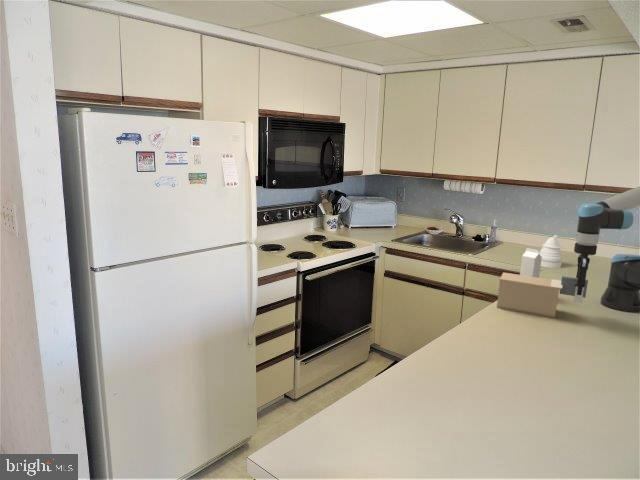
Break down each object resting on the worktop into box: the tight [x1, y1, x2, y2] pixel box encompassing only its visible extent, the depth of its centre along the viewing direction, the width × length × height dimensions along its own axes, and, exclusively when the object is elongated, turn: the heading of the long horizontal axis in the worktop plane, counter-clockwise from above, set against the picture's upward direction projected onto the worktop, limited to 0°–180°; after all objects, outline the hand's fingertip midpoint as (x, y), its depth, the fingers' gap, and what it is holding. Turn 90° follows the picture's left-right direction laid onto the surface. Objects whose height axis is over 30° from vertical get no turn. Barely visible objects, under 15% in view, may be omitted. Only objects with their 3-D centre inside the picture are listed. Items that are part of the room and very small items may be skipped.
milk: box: [519, 247, 542, 278], centre depth 205 cm, size 6×6×22 cm
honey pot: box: [539, 234, 563, 269], centre depth 262 cm, size 13×13×18 cm
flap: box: [499, 272, 589, 299], centre depth 185 cm, size 32×12×7 cm, turn 62°
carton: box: [496, 279, 560, 319], centre depth 189 cm, size 22×11×12 cm, turn 62°
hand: (577, 299), depth 180 cm, fingers open, 7 cm apart
